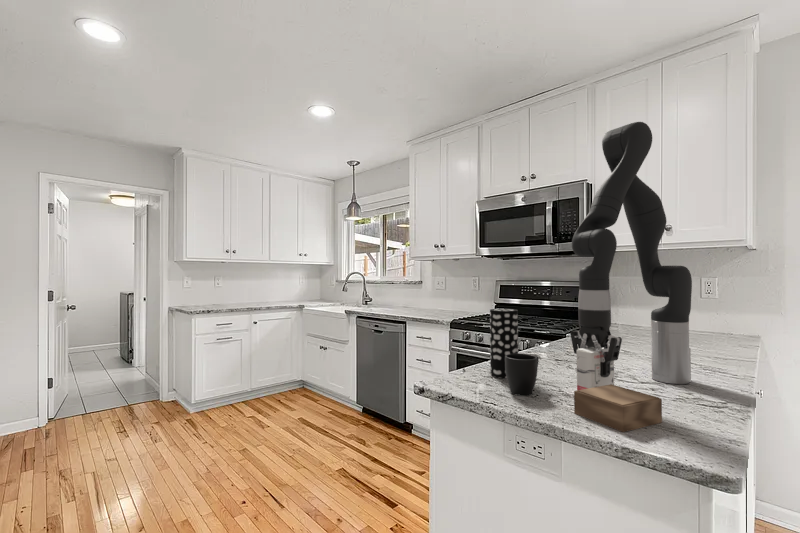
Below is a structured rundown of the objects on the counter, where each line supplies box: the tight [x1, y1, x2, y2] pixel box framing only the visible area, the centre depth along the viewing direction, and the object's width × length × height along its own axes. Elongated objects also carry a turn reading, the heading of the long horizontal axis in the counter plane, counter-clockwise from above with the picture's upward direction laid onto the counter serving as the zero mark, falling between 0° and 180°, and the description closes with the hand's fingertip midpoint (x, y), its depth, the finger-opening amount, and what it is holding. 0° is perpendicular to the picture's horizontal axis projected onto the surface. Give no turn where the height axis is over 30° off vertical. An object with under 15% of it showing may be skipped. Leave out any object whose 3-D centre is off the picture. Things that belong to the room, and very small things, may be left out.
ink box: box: [575, 347, 615, 391], centre depth 105 cm, size 9×5×12 cm, turn 116°
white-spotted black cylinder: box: [489, 308, 519, 380], centre depth 127 cm, size 8×8×20 cm
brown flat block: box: [573, 384, 663, 433], centre depth 90 cm, size 12×12×5 cm
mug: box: [505, 353, 539, 397], centre depth 110 cm, size 8×12×10 cm
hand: (595, 373), depth 105 cm, fingers closed on ink box, 5 cm apart
